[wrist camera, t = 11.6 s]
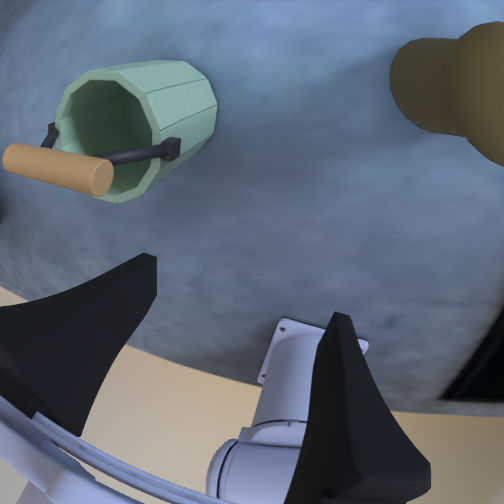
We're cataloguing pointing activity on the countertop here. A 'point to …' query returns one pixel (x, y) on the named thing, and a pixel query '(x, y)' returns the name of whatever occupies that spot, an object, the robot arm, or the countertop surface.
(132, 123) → the bucket
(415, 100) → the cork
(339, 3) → the countertop surface
